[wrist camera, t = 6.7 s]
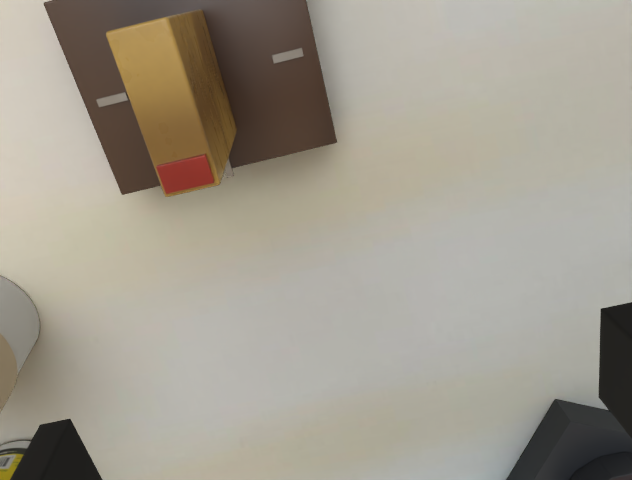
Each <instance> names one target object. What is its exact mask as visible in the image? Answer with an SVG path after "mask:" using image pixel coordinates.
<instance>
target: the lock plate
mask: <svg viewBox="0 0 632 480" xmlns="http://www.w3.org/2000/svg"><path fill="white" fill-rule="evenodd" d="M44 6H45V8H46V11H47V13H48V16H49V18H50V21H51V23H52V25H53V28H54V30H55V33H56V35H57V38H58V40H59V42H60V45H61V47H62V50H63V52H64V55H65V57H66V60H67V62H68V64H69V67H70V69H71V72H72V74H73V77H74V79H75V81H76V84H77V86H78V89H79V91H80V94H81V96H82V98H83V101H84V103H85V106H86V108H87V111H88V113H89V115H90V118H91V120H92V123H93V125H94V128H95V130H96V133H97V135H98V137H99V140H100V142H101V145H102V147H103V150H104V152H105V154H106V157H107V159H108V162H109V164H110V167H111V169H112V171H113V174H114V176H115V179H116V181H117V184H118V186H119V188H120V191H121V193H122V195H124V194H128V193H132V192H136V191H140V190H144V189H148V188H153V187H157V186H161V184H160V181H159V179H158V176H157V173H156V170H155V168H154V165H153V162H152V160H151V157H150V154H149V151H148V149H147V146H146V143H145V140H144V138H143V135H142V132H141V129H140V127H139V124H138V121H137V119H136V116H135V113H134V110H133V108H132V105H131V102H130V99H129V97H128V94H127V91H126V89H125V86H124V83H123V80H122V78H121V75H120V72H119V69H118V67H117V64H116V61H115V58H114V56H113V53H112V50H111V48H110V45H109V42H108V39H107V37H106V32H108V31H111V30H115V29H119V28H123V27H127V26H131V25H135V24H139V23H143V22H147V21H151V20H155V19H159V18H163V17H168V16H172V15H177V14H181V13H186V12H190V11H195V10H199V9H201V10H202V11H203V14H204V17H205V21H206V24H207V28H208V31H209V34H210V38H211V41H212V45H213V48H214V52H215V55H216V59H217V62H218V66H219V69H220V73H221V76H222V80H223V83H224V86H225V90H226V93H227V97H228V100H229V104H230V107H231V111H232V114H233V118H234V121H235V125H236V128H237V132H236V135H235V138H234V141H233V144H232V147H231V151H230V154H229V157H228V160H227V163H226V167H225V173H226V176H227V178H228V177H232V176H234V173H233V170H232V168H235V167H239V166H243V165H247V164H251V163H255V162H259V161H264V160H268V159H272V158H276V157H280V156H284V155H288V154H292V153H296V152H301V151H305V150H309V149H313V148H317V147H321V146H325V145H329V144H333V143H336V142H337V140H336V135H335V130H334V126H333V121H332V117H331V112H330V108H329V103H328V98H327V94H326V89H325V85H324V80H323V76H322V71H321V66H320V62H319V57H318V53H317V48H316V44H315V39H314V34H313V30H312V25H311V21H310V16H309V12H308V7H307V2H306V0H52V1H48V2H45V3H44Z"/></svg>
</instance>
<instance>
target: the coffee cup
mask: <svg viewBox="0 0 632 480" xmlns="http://www.w3.org/2000/svg"><path fill="white" fill-rule="evenodd" d="M39 331H40V321H39V316H38V313H37V310H36V308H35V306H34V304H33V302H32V301H31V299H30V298H29V297H28V296H27V295H26V293H25V292H24V291H23V290H21V289H20V288H19V287H18V286H17V285H15V284H14V283H12V282H11V281H9V280H8V279H6V278H4V277H2V276H0V412H1V411H2V409H3V407H4V405H5V403H6V401H7V400H8V398H9V396H10V394H11V392H12V390H13V388H14V386H15V384H16V380H17V375H18V373H19V371H20V369H21V368H22V366H23V364H24V362H25V360H26V358H27V357H28V355H29V353H30V351H31V349H32V348H33V346H34V344H35V342H36V340H37V338H38V335H39Z"/></svg>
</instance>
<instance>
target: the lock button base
mask: <svg viewBox="0 0 632 480" xmlns="http://www.w3.org/2000/svg"><path fill="white" fill-rule="evenodd" d="M507 480H632V438H631V437H630V436H629V435H628V433H627V432H626V431H625V429H624V428H623V427H622V426H621V424H620V423H619V422H618V421H617V419H616V418H615V417H614V416H613V414H612V413H611V412H610V411H607V410H603V409H598V408H594V407H589V406H584V405H580V404H575V403H570V402H566V401H561V400H557V399H555V401H554V402H553V404H552V406H551V407H550V409H549V411H548V412H547V414H546V416H545V417H544V419H543V421H542V422H541V424H540V426H539V427H538V429H537V431H536V432H535V434H534V436H533V437H532V439H531V440H530V442H529V444H528V445H527V447H526V449H525V450H524V452H523V454H522V455H521V457H520V459H519V460H518V462H517V464H516V465H515V467H514V469H513V470H512V472H511V474H510V475H509V477H508V479H507Z"/></svg>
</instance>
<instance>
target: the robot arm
mask: <svg viewBox="0 0 632 480" xmlns="http://www.w3.org/2000/svg"><path fill="white" fill-rule="evenodd" d="M599 398H600V399H601V400H602V402H603V403H604V404H605V405H606V407H607V408H608V409H609V411H610V412H611V413H612V414H613V416H614V417H615V418H616V419H617V421H618V422H619V423H620V424H621V426H622V427H623V428H624V429H625V431H626V432H627V433H628V435H629V436H630V437H631V438H632V302H631V303H627V304H622V305H617V306H612V307H607V308H602V309H601V325H600V368H599ZM10 480H102V478H101V476H100V475H99V473H98V471H97V469H96V467H95V465H94V463H93V461H92V459H91V457H90V455H89V454H88V452H87V450H86V448H85V446H84V444H83V442H82V440H81V438H80V436H79V435H78V433H77V431H76V429H75V427H74V425H73V423H72V421H71V419H66V420H61V421H57V422H52V423H47V424H42V425H40V426H39V428H38V430H37V431H36V433H35V435H34V437H33V439H32V441H31V442H30V444H29V446H28V448H27V450H26V451H25V453H24V455H23V457H22V459H21V460H20V462H19V464H18V466H17V468H16V469H15V471H14V473H13V475H12V477H11V479H10Z"/></svg>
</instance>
